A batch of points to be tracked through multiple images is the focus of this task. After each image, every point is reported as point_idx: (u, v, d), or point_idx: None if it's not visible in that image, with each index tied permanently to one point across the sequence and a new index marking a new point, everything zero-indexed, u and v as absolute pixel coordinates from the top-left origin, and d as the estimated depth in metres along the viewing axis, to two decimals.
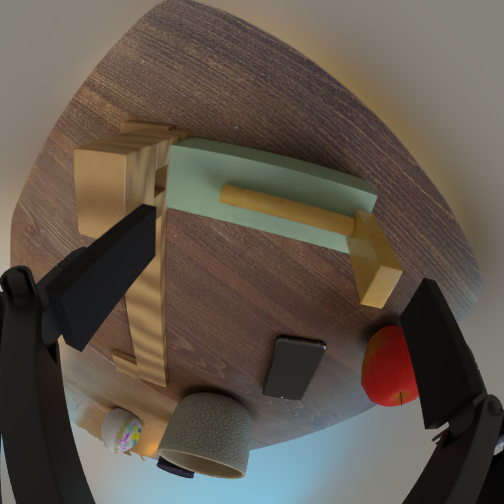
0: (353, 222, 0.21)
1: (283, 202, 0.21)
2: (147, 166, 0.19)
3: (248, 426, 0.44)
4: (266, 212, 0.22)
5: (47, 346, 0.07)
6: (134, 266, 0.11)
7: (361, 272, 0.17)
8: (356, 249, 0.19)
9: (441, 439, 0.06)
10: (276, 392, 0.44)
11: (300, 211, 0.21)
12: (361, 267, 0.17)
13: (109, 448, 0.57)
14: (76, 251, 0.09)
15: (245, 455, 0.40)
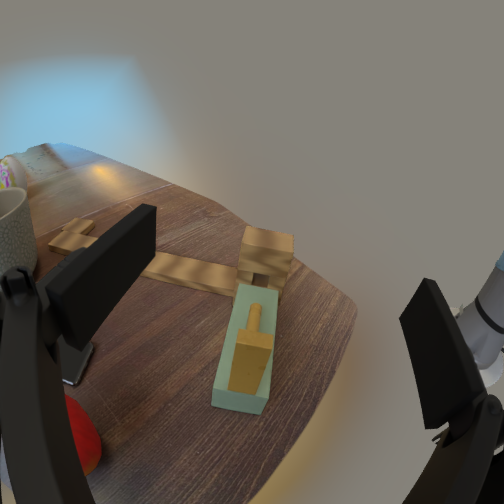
0: None
1: None
2: (277, 268, 0.39)
3: None
4: (249, 324, 0.33)
5: (47, 346, 0.07)
6: (134, 266, 0.11)
7: None
8: None
9: (441, 439, 0.06)
10: None
11: None
12: None
13: (10, 158, 0.53)
14: (76, 251, 0.09)
15: None
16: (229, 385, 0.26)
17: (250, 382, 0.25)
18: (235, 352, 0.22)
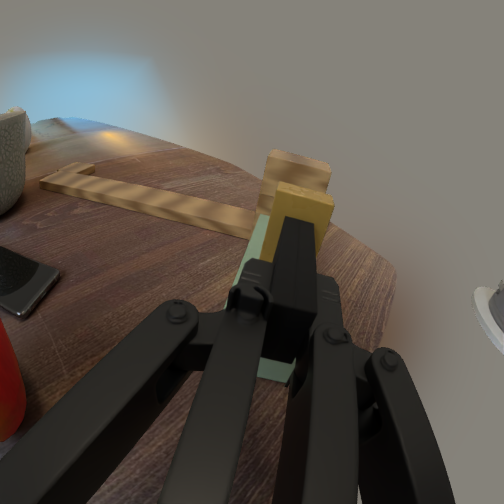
0: None
1: None
2: None
3: None
4: None
5: None
6: None
7: None
8: None
9: (290, 386, 0.08)
10: None
11: None
12: None
13: (17, 108, 0.47)
14: (249, 263, 0.11)
15: None
16: None
17: None
18: (272, 215, 0.14)
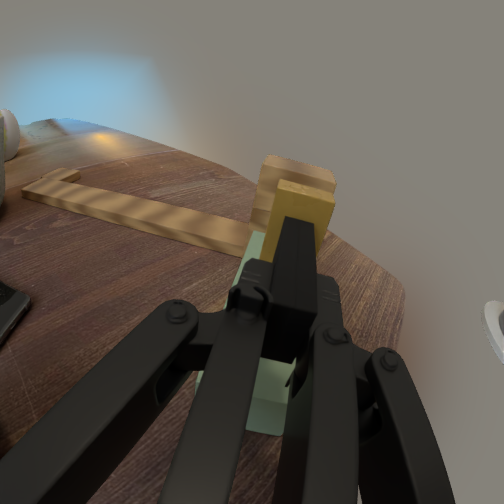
0: None
1: None
2: None
3: None
4: None
5: None
6: None
7: None
8: None
9: (290, 386, 0.08)
10: None
11: None
12: None
13: (5, 110, 0.43)
14: (249, 263, 0.11)
15: None
16: None
17: None
18: (273, 213, 0.14)
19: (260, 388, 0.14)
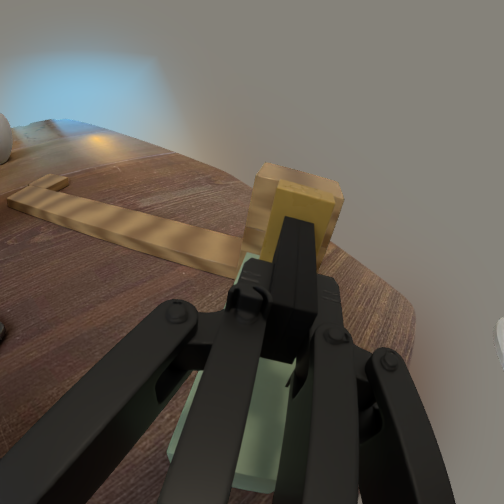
0: None
1: None
2: None
3: None
4: None
5: None
6: None
7: None
8: None
9: (290, 386, 0.08)
10: None
11: None
12: None
13: None
14: (249, 262, 0.11)
15: None
16: None
17: None
18: (273, 213, 0.14)
19: (242, 462, 0.10)
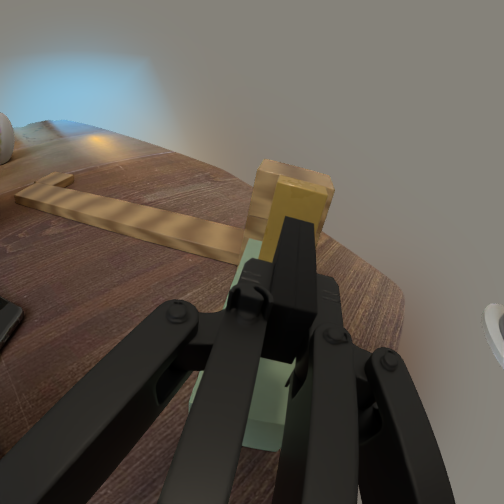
0: None
1: None
2: None
3: None
4: None
5: None
6: None
7: None
8: None
9: (290, 386, 0.08)
10: None
11: None
12: None
13: None
14: (249, 263, 0.11)
15: None
16: None
17: None
18: (273, 204, 0.16)
19: (255, 409, 0.13)
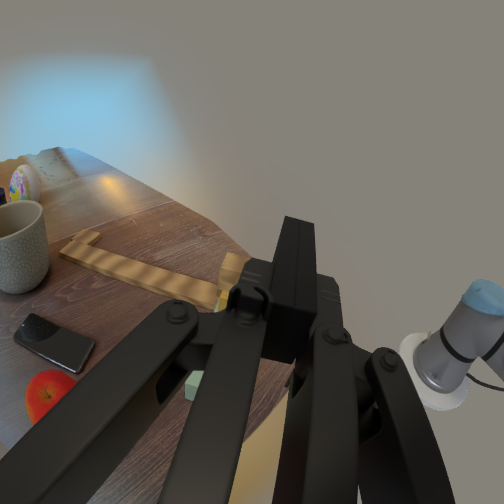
0: None
1: None
2: None
3: (9, 282, 0.37)
4: None
5: None
6: None
7: None
8: None
9: (290, 386, 0.08)
10: (31, 323, 0.37)
11: None
12: None
13: (25, 167, 0.63)
14: (249, 263, 0.11)
15: None
16: None
17: None
18: (219, 304, 0.37)
19: None
